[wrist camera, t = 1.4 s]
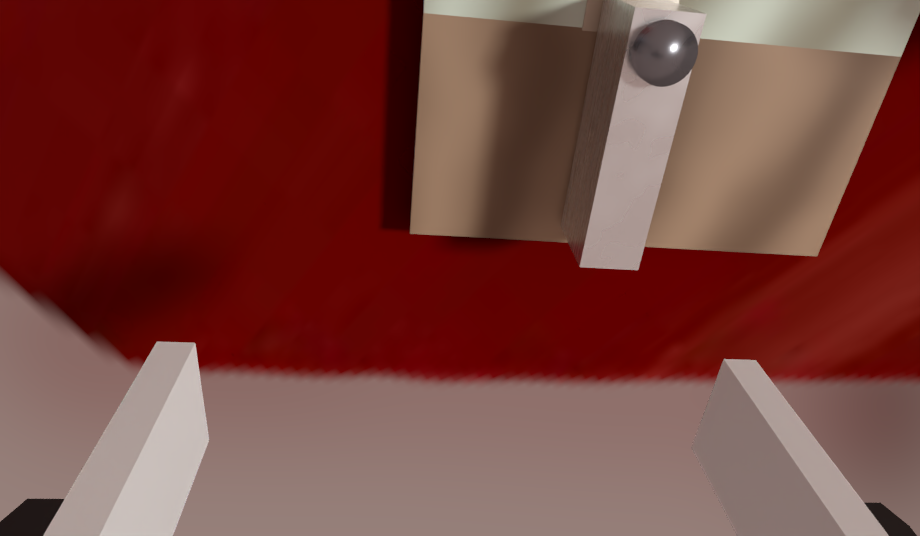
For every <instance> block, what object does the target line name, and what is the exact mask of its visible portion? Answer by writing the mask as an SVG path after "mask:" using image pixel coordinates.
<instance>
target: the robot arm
mask: <svg viewBox="0 0 920 536" xmlns="http://www.w3.org/2000/svg"><path fill="white" fill-rule="evenodd" d="M208 441H209V436H208V429H207V422H206V415H205V408H204V401H203V394H202V387H201V380H200V373H199V366H198V359H197V352H196V345H195V343H185V342H156V344H155V346H154V347H153V349H152V351H151V353H150V354H149V356H148V358H147V359H146V361H145V363H144V364H143V366H142V368H141V370H140V371H139V373H138V375H137V376H136V378H135V380H134V382H133V383H132V385H131V387H130V388H129V390H128V392H127V393H126V395H125V397H124V399H123V400H122V402H121V404H120V406H119V407H118V409H117V411H116V413H115V414H114V416H113V418H112V419H111V421H110V423H109V424H108V426H107V428H106V429H105V431H104V433H103V434H102V436H101V438H100V440H99V441H98V443H97V445H96V446H95V448H94V450H93V452H92V453H91V455H90V457H89V459H88V460H87V462H86V463H85V465H84V467H83V469H82V470H81V472H80V474H79V475H78V477H77V479H76V481H75V482H74V484H73V486H72V487H71V489H70V491H69V492H68V494H67V496H66V498H65V499H27V500H25V501H24V502H23V503H22V504H21V505H20V506H19V507H17V508H16V509H15V510H14V511H13V512H11V513H10V514H9V515H8V516H7V517H5V518H4V519H3V520H2V521H1V522H0V536H173V534H174V531H175V528H176V526H177V523H178V521H179V518H180V515H181V513H182V510H183V507H184V505H185V502H186V500H187V497H188V494H189V492H190V489H191V486H192V484H193V481H194V478H195V476H196V473H197V470H198V468H199V465H200V462H201V460H202V457H203V455H204V452H205V449H206V446H207V444H208ZM692 450H693V452H694V454H695V456H696V458H697V460H698V461H699V463H700V465H701V467H702V469H703V471H704V473H705V475H706V477H707V479H708V481H709V483H710V485H711V487H712V488H713V490H714V492H715V494H716V496H717V498H718V500H719V502H720V504H721V506H722V508H723V510H724V512H725V513H726V516H727V518H728V519H729V521H730V523H731V525H732V527H733V529H734V531H735V533H736V535H737V536H917V535H916V534H915V533H914V532H913V530H912V529H911V528H910V526H909V525H907V524H906V523H905V522H904V521H902V520H901V519H900V518H899V517H897V516H896V515H895V514H894V513H892V512H891V511H890V510H889V509H888V508H886V507H885V506H884V505H882V504H881V503H864V502H863V501H862V500H861V498H860V497H859V496H858V494H857V493H856V492H855V491H854V489H853V488H852V487H851V485H850V484H849V482H848V481H847V480H846V478H845V477H844V476H843V475H842V473H841V472H840V471H839V469H838V468H837V467H836V465H835V464H834V463H833V461H832V460H831V459H830V457H829V456H828V455H827V453H826V452H825V451H824V449H823V448H822V447H821V446H820V444H819V443H818V442H817V440H816V439H815V438H814V436H813V435H812V434H811V433H810V431H809V430H808V428H807V427H806V426H805V425H804V423H803V422H802V421H801V419H800V418H799V417H798V415H797V414H796V413H795V411H794V410H793V409H792V407H791V406H790V405H789V403H788V402H787V401H786V399H785V398H784V397H783V396H782V394H781V393H780V392H779V390H778V389H777V388H776V386H775V385H774V384H773V382H772V381H771V380H770V378H769V377H768V376H767V374H766V373H765V372H764V370H763V369H762V368H761V367H760V365H759V364H758V363H757V361H756V360H736V359H724V360H723V362H722V365H721V368H720V371H719V373H718V376H717V379H716V382H715V384H714V387H713V390H712V392H711V395H710V398H709V401H708V403H707V406H706V409H705V412H704V414H703V417H702V420H701V423H700V426H699V428H698V431H697V433H696V436H695V439H694V442H693V445H692Z"/></svg>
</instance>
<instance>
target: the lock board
mask: <svg viewBox="0 0 920 536" xmlns="http://www.w3.org/2000/svg"><path fill="white" fill-rule="evenodd" d="M603 1H604V0H424V2H423V19H422V35H421V51H420V67H419V83H418V100H417V116H416V132H415V148H414V165H413V181H412V197H411V213H410V234H425V235H443V236H461V237H479V238H497V239H515V240H532V241H550V242H568V241H567V239H566V237H565V235H564V233H563V230H562V228H561V221H562V216H563V211H564V205H565V200H566V195H567V190H568V185H569V179H570V174H571V169H572V164H573V158H574V153H575V148H576V143H577V137H578V132H579V127H580V122H581V116H582V111H583V106H584V101H585V96H586V90H587V85H588V80H589V75H590V69H591V64H592V59H593V54H594V48H595V43H596V38H597V33H598V27H599V22H600V17H601V12H602V6H603ZM670 1H672V2H675V3H678V4H681V5H683V6H686V7H689V8H692V9H694V10H697V11H700V12H703V13H706V14H707V15H706V18H705V22H704V26H703V30H702V33H701V37H700V41H699V44H698V55H697V59H696V62H695V64H694V66H693V68H692V71H691V74H690V78H689V82H688V86H687V89H686V93H685V97H684V101H683V104H682V108H681V112H680V115H679V119H678V123H677V127H676V130H675V134H674V138H673V142H672V145H671V149H670V153H669V157H668V160H667V164H666V168H665V172H664V175H663V179H662V183H661V187H660V190H659V194H658V198H657V201H656V205H655V209H654V213H653V216H652V220H651V224H650V228H649V231H648V235H647V239H646V243H645V246H644V247H658V248H676V249H694V250H712V251H730V252H748V253H766V254H784V255H802V256H817V255H818V253H819V250H820V248H821V246H822V243H823V241H824V238H825V236H826V234H827V231H828V229H829V227H830V224H831V222H832V219H833V217H834V215H835V212H836V210H837V208H838V205H839V203H840V200H841V198H842V196H843V193H844V191H845V189H846V186H847V184H848V182H849V179H850V177H851V174H852V172H853V170H854V167H855V165H856V163H857V160H858V158H859V155H860V153H861V151H862V148H863V146H864V144H865V141H866V139H867V136H868V134H869V132H870V129H871V127H872V125H873V122H874V120H875V117H876V115H877V113H878V110H879V108H880V106H881V103H882V101H883V98H884V96H885V94H886V91H887V89H888V87H889V84H890V82H891V80H892V77H893V75H894V72H895V70H896V68H897V65H898V63H899V61H900V58H901V56H902V53H903V51H904V49H905V46H906V44H907V42H908V39H909V37H910V34H911V32H912V30H913V27H914V25H915V23H916V20H917V18H918V15H919V13H920V0H670Z"/></svg>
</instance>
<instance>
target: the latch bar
mask: <svg viewBox="0 0 920 536" xmlns="http://www.w3.org/2000/svg"><path fill="white" fill-rule="evenodd" d="M706 15H707V14H706V13H703V12H700V11H697V10H694V9H692V8H689V7H686V6H683V5H681V4H678V3H675V2H672V1H670V0H604V1H603V6H602V12H601V17H600V22H599V27H598V33H597V38H596V43H595V48H594V54H593V59H592V64H591V69H590V75H589V80H588V85H587V90H586V96H585V101H584V106H583V111H582V116H581V122H580V127H579V132H578V137H577V143H576V148H575V153H574V158H573V164H572V169H571V174H570V179H569V185H568V190H567V195H566V200H565V205H564V211H563V216H562V221H561V228H562V230H563V233H564V235H565V237H566V239H567V241H568V243H569V246H570V248H571V250H572V252H573V254H574V256H575V258H576V261H577V263H578V265H579V267H587V268H607V269H626V270H638V269H639V265H640V261H641V258H642V254H643V250H644V246H645V243H646V239H647V235H648V231H649V228H650V224H651V220H652V216H653V213H654V209H655V205H656V201H657V198H658V194H659V190H660V187H661V183H662V179H663V175H664V172H665V168H666V164H667V160H668V157H669V153H670V149H671V145H672V142H673V138H674V134H675V130H676V127H677V123H678V119H679V115H680V112H681V108H682V104H683V101H684V97H685V93H686V89H687V86H688V82H689V78H690V74H691V71H692V68H693V66H694V64H695V62H696V59H697V55H698V44H699V41H700V37H701V33H702V30H703V26H704V22H705V18H706Z"/></svg>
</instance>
